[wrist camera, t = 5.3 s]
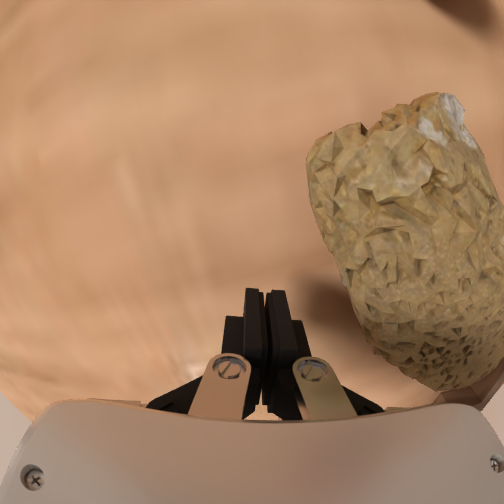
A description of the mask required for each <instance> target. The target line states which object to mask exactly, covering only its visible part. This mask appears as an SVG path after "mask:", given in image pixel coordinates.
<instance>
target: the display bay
mask: <svg viewBox="0 0 504 504" xmlns="http://www.w3.org/2000/svg"><path fill="white" fill-rule="evenodd" d="M503 381H504V357H503V358H502V359H501V360H500V362H499V364H498V366H497V367H496V368H495V369H494V370H493V371H492V372H491V373H489V374H488V375H487V376H485V377H484V378H482V379H481V380H480V381H478V382H477V381H476V382H474V383H473V384H471V385H469V386H467V387H466V388H460V389H455V390H451V391H447V392H443V393H440V395H439V396H438V398H437V399H436V401H435V402H434V403H433V404H438V403H460V404H466V405H470V406H473V407H474V408H476V409H477V410H479V411H482V410H483V408H484V407H485V406H486V404H487V403H488V402H489V401H490V399H491V398H492V397H493V395H494V394H495V393H496V391H497V390H498V388H499V387H500V386H501V384H502V383H503Z"/></svg>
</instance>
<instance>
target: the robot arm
mask: <svg viewBox="0 0 504 504" xmlns="http://www.w3.org/2000/svg"><path fill="white" fill-rule="evenodd" d="M261 389H262V405H267V410H268V413H274V414H275V415H276V416H278V417H279V418H278V421H272V420H244V419H245V418H246V417H247V416H249V415H250V414H252V413H253V412H254V411H255V406H256V405H258V404H259V400H260V394H261ZM0 504H504V447H503V445H502V443H501V441H500V440H499V438H498V436H497V434H496V433H495V431H494V430H493V428H492V427H491V425H490V424H489V422H488V421H487V419H486V418H485V417H484V416H483V415H482V413H481V412H480V411H479V410H477V409H476V408H474V407H473V406H470V405H466V404H460V403H438V404H430V405H425V406H418V407H413V408H398V407H387V408H386V409H385V410H383V409H382V407H380V406H379V405H377V404H375V403H374V402H372V401H370V400H368V399H366V398H364V397H362V396H360V395H358V394H357V393H355V392H353V391H351V390H349V389H347V388H346V387H344V386H342V385H341V384H340V382H339V380H338V378H337V376H336V374H335V373H334V371H333V369H332V367H331V366H330V365H329V364H328V363H327V362H326V361H324V360H322V359H320V358H316V357H312V356H311V352H310V348H309V345H308V341H307V337H306V334H305V330H304V326H303V323H302V321H301V320H291V315H290V311H289V307H288V302H287V298H286V294H285V291H284V290H272V291H271V293H267V294H266V301H265V306H264V295H263V292H259V289H255V288H246V291H245V302H244V313H243V317H237V316H226V319H225V327H224V335H223V343H222V351H221V354H219V355H216V356H214V357H213V358H212V359H211V360H210V361H209V363H208V365H207V367H206V370H205V372H204V375H203V376H201V377H199V378H197V379H195V380H193V381H191V382H189V383H187V384H185V385H183V386H181V387H179V388H177V389H175V390H173V391H171V392H168V393H166V394H164V395H162V396H160V397H158V398H156V399H154V400H152V401H151V402H149V404H141V401H124V400H106V399H93V398H91V399H69V400H62V401H57V402H55V403H52V404H50V405H49V406H47V407H46V408H44V409H43V410H42V411H41V412H40V413H39V414H38V416H37V417H36V418H35V420H34V421H33V422H32V424H31V425H30V427H29V428H28V430H27V431H26V433H25V434H24V436H23V438H22V440H21V442H20V444H19V445H18V447H17V449H16V451H15V453H14V455H13V457H12V459H11V462H10V464H9V466H8V469H7V471H6V473H5V476H4V479H3V481H2V484H1V486H0Z"/></svg>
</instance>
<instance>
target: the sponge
mask: <svg viewBox="0 0 504 504" xmlns="http://www.w3.org/2000/svg"><path fill="white" fill-rule="evenodd" d="M464 111H465V110H464V108H463V107H462V105H461V104H460V103H459V101H458V100H457V99H456V97H455V96H454V95H451V94H448V93H447V94H446V93H443V94H442V93H439V92H435V93H429V94H425V95H423V96H421V97H419V98H417V99H414V100H413V101H412V103H411V104H410V105H407V104H397V105H396V107H395V108H393V109H390V110H388V111H385V112H382V121H378V122H377V123H376V124H375V125H374V126H373V127H372V128H371V129H369V130H367V129H366V128H365V127H364V126H363V124H362V123H361V122H360V123H355V124H350V125H347V126H345V127H343V128H341V129H339V130H337V131H335V132H333V133H332V132H330V133H328V134H326V135H325V136H323V137H321V138H319V139H318V140H316V141H315V143H314V145H313V146H312V148H311V149H310V151H309V153H308V156H307V158H306V169H307V177H308V187H309V197H310V204H311V207H312V210H313V213H314V216H315V219H316V222H317V224H318V227H319V230H320V232H321V235H322V237H323V240H324V242H325V244H326V245H327V247H328V250H329V251H330V252H331V253H332V254H333V255H334V257H335V260H336V263H337V266H338V269H339V271H340V274H341V278H342V283H343V285H344V286H346V287H347V290H348V293H349V296H350V299H351V303H352V307H353V310H354V313H355V315H356V317H357V320H358V321H359V325H360V327H361V329H362V331H363V334H364V336H365V338H366V341H367V342H369V343H371V345H372V348H373V350H374V354H378V355H382V356H383V358H384V359H385V360H386V361H387V362H388V363H390V364H392V365H394V366H398V367H399V369H400V370H401V372H402V373H403V374H405V375H407V376H409V377H410V378H412V379H414V378H415V379H416V380H417V381H419V382H420V383H422V384H424V385H426V386H428V387H429V388H431V389H433V390H434V391H440V390H450V389H460V388H466V387H467V386H469V385H471V384H473V383H474V382H476V381H477V382H478V381H480V380H481V379H482V378H484V377H485V376H487V375H488V374H489V373H491V372H492V371H493V370H494V369H495V368H496V367H497V366H498V364H499V362H500V360H501V359H502V358H503V357H504V206H503V204H502V202H501V201H500V199H499V197H498V195H497V192H496V189H495V187H494V185H493V182H492V180H491V177H490V174H489V172H488V169H487V166H486V164H485V158H484V154H483V153H482V151H481V149H480V147H479V146H478V144H477V142H476V141H475V139H474V138H473V137H472V135H471V134H470V133H469V131H468V130H467V128H466V127H465V125H464V124H463V119H464Z"/></svg>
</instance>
